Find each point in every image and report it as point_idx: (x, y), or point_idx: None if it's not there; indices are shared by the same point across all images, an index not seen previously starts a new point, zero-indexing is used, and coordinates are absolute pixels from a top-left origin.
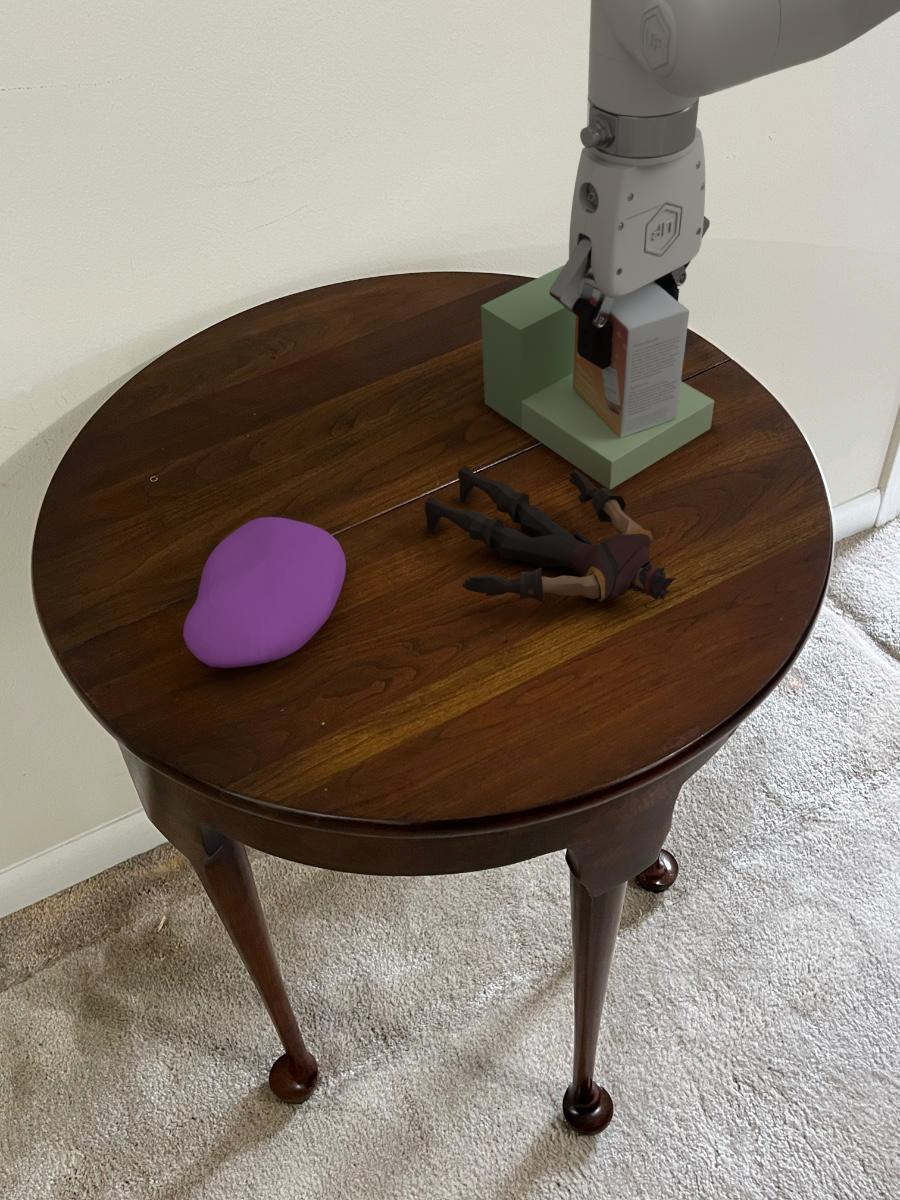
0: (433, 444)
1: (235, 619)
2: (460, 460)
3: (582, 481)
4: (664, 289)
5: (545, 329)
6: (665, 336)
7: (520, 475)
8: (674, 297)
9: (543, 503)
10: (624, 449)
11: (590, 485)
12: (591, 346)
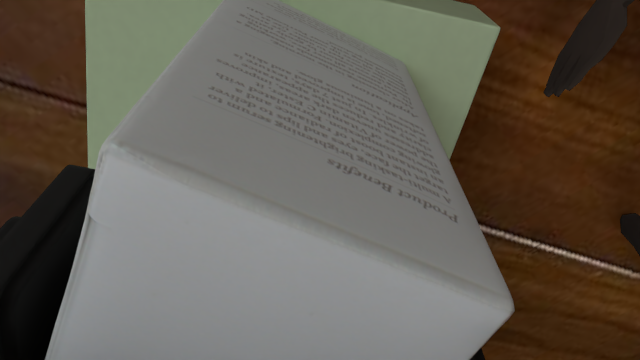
0: (502, 329)
1: None
2: (521, 279)
3: (612, 44)
4: (16, 338)
5: None
6: (290, 143)
7: (513, 181)
8: (9, 272)
9: (577, 99)
10: (436, 28)
11: (618, 18)
12: None
